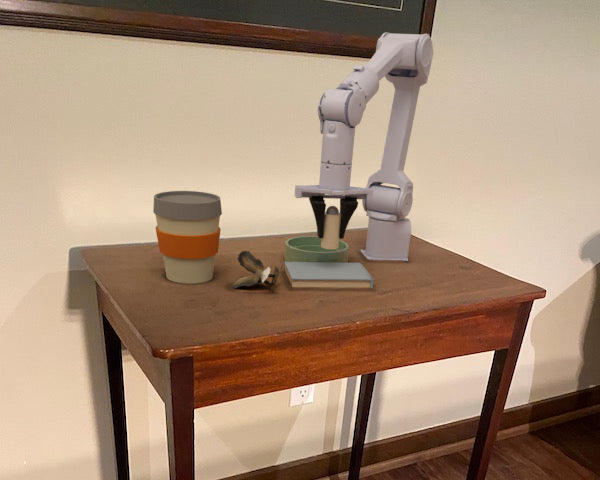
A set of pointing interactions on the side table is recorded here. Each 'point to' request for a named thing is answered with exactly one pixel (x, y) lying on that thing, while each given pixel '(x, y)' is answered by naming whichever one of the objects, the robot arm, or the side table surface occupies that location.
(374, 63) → the robot arm
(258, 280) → the eagle figurine
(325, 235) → the shaker
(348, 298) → the side table surface
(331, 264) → the book
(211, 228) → the reusable coffee cup
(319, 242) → the bowl
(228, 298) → the side table surface
